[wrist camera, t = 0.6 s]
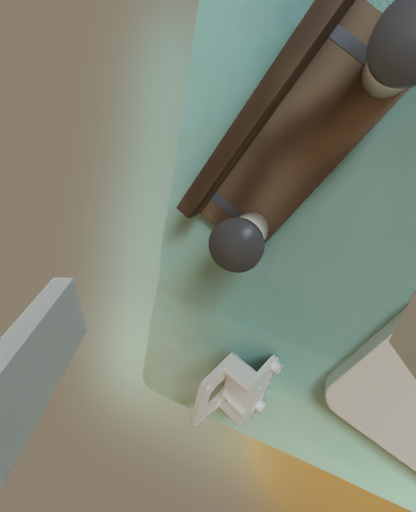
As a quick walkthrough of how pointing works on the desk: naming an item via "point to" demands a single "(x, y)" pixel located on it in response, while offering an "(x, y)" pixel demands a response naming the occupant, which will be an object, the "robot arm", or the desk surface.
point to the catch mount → (294, 120)
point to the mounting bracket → (235, 389)
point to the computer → (377, 395)
